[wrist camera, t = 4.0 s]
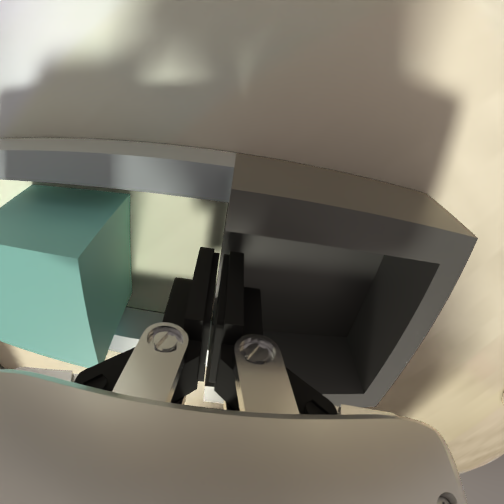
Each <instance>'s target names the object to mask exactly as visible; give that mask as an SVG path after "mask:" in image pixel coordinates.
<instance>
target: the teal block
mask: <svg viewBox="0 0 504 504" xmlns="http://www.w3.org/2000/svg"><path fill="white" fill-rule="evenodd" d="M131 294H132V277H131V252H130V194H126V193H116V192H107V191H97V190H87V189H77V188H66V187H55V186H43V185H31V186H30V187H28V188H27V189H26V190H24V191H23V192H21V193H20V194H18V195H17V196H16V197H14V198H13V199H12V200H10V201H9V202H7V203H6V204H5V205H3V206H2V207H1V208H0V341H1V342H4V343H7V344H10V345H13V346H16V347H19V348H21V349H24V350H27V351H31V352H34V353H37V354H40V355H43V356H47V357H50V358H53V359H57V360H60V361H64V362H67V363H71V364H75V365H79V366H83V367H86V368H90V367H92V366H94V365H96V364H99V363H101V362H103V361H104V360H105V357H106V355H107V352H108V350H109V347H110V344H111V342H112V339H113V337H114V334H115V332H116V329H117V327H118V325H119V322H120V320H121V317H122V315H123V313H124V310H125V308H126V306H127V303H128V301H129V299H130V296H131Z"/></svg>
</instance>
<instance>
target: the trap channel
mask: <svg viewBox="0 0 504 504" xmlns="http://www.w3.org/2000/svg"><path fill="white" fill-rule="evenodd" d="M0 179H3V180H20V181H34V182H48V183H60V184H72V185H83V186H94V187H104V188H114V189H123V190H132V191H141V192H150V193H159V194H167V195H175V196H183V197H191V198H198V199H206V200H213V201H220V202H227V203H228V208H227V215H226V222H225V229H224V236H223V243H222V250H221V257H220V264H219V271H218V279H217V286H216V294H215V301H214V309H213V317H212V320H211V324H210V332H209V340H208V349H207V357H206V366H205V367H207V369H206V379H205V389H204V399H203V401H206V402H214V403H223V399H222V398H221V397H220V396H219V395H218V394H217V393H216V392H215V391H214V383H211V382H209V373H210V363H211V352H212V342H213V332H214V322H215V313H216V305H217V298H218V291H219V284H220V277H221V270H222V263H223V256H224V254H228V255H229V253H230V251H234V252H241V253H244V287H250V288H258V289H260V292H261V307H262V323H263V336H266V337H268V338H270V339H272V340H273V341H274V342H275V343H276V344H277V345H278V347H279V349H280V351H281V355H282V358H283V361H284V364H285V367H286V368H288V369H289V370H290V371H292V372H293V373H294V374H296V375H297V376H298V377H299V378H301V379H302V380H303V381H305V382H306V383H307V384H309V385H310V386H311V387H313V388H314V389H315V390H317V391H318V392H319V393H321V394H322V395H323V396H325V397H326V398H328V399H329V400H330V401H331V402H332V403H333V404H334V406H338V407H340V405H341V404H344V405H349V406H355V407H361V408H365V407H376V406H377V404H378V403H379V402H380V401H381V399H382V398H383V397H384V395H385V394H386V393H387V391H388V390H389V389H390V387H391V386H392V385H393V383H394V382H395V381H396V379H397V378H398V377H399V375H400V374H401V372H402V371H403V369H404V368H405V367H406V365H407V364H408V362H409V361H410V359H411V358H412V356H413V355H414V353H415V352H416V350H417V349H418V347H419V346H420V344H421V343H422V341H423V340H424V338H425V336H426V335H427V333H428V332H429V330H430V328H431V327H432V325H433V323H434V322H435V320H436V318H437V317H438V315H439V313H440V312H441V310H442V308H443V306H444V305H445V303H446V301H447V299H448V298H449V296H450V294H451V292H452V290H453V288H454V286H455V285H456V283H457V281H458V279H459V277H460V275H461V273H462V271H463V269H464V267H465V265H466V263H467V261H468V259H469V257H470V254H471V252H472V250H473V248H474V246H475V244H476V241H477V239H478V238H477V237H476V236H475V235H474V234H473V233H472V232H471V231H470V230H469V229H467V228H466V227H465V226H464V225H463V224H462V223H461V222H460V221H458V220H457V219H456V218H455V217H454V216H453V215H452V214H450V213H449V212H448V211H447V210H446V209H445V208H443V207H442V206H441V205H440V204H439V203H437V202H436V201H435V200H434V199H433V198H431V197H430V196H429V195H428V194H426V193H422V192H419V191H415V190H412V189H408V188H404V187H401V186H397V185H393V184H389V183H385V182H381V181H377V180H373V179H369V178H365V177H361V176H357V175H352V174H348V173H343V172H339V171H334V170H330V169H325V168H320V167H315V166H310V165H305V164H300V163H295V162H289V161H284V160H278V159H272V158H266V157H260V156H254V155H248V154H241V153H235V152H228V151H221V150H213V149H205V148H197V147H189V146H180V145H170V144H160V143H149V142H137V141H123V140H106V139H84V138H0ZM164 314H165V313H159V312H152V311H146V310H140V309H135V308H129V307H126V308H125V310H124V313H123V315H122V317H121V320H120V322H119V325H118V327H117V329H116V332H115V334H114V337H113V339H112V342H111V344H110V347H109V350H111V351H116V352H121V353H123V352H125V351H128V350H130V349H132V348H134V347H136V345H137V343H138V341H139V340H140V338H141V336H142V334H143V332H144V331H145V330H146V329H147V328H148V327H149V326H151V325H153V324H156V323H162V321H163V317H164Z"/></svg>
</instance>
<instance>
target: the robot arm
mask: <svg viewBox="0 0 504 504" xmlns="http://www.w3.org/2000/svg"><path fill="white" fill-rule="evenodd" d="M218 260H219V253H214V249H212V248H205V247H200V250H199V254H198V259H197V263H196V267H195V271H194V276H193V280H191V279H184V278H177V277H176V278H175V280H174V283H173V286H172V290H171V293H170V297H169V300H168V303H167V307H166V310H165V314H164V317H163V321H162V323H156V324H153V325H151V326H149V327H148V328H147V329H146V330H145V331H144V332H143V334H142V336H141V338H140V340H139V341H138V343H137V345H136V347H134V348H132V349H130V350H128V351H125V352H123V353H121V354H119V355H117V356H114V357H112V358H110V359H108V360H105V361H103V362H101V363H99V364H96V365H94V366H92V367H90V368H87V369H85V370H84V371H82V372H80V373H79V374H73V372H72V371H67V370H52V369H39V368H29V367H19V368H16V369H0V504H468V503H467V500H466V495H465V492H464V488H463V485H462V482H461V478H460V476H459V472H458V470H457V467H456V464H455V461H454V459H453V456H452V454H451V452H450V450H449V448H448V446H447V444H446V442H445V440H444V439H443V437H442V436H441V434H440V433H439V432H438V431H437V430H436V429H435V428H433V427H432V426H430V425H428V424H426V423H424V422H421V421H418V420H415V419H411V418H408V417H401V416H397V415H396V414H394V413H391V412H386V411H379V410H373V409H367V408H361V407H355V406H349V405H344V404H341V405H340V407H338V406H334V404H333V403H332V402H331V401H330V400H329V399H328V398H326V397H325V396H323V395H322V394H321V393H319V392H318V391H317V390H315V389H314V388H313V387H311V386H310V385H309V384H307V383H306V382H305V381H303V380H302V379H301V378H299V377H298V376H297V375H296V374H294V373H293V372H292V371H290V370H289V369H288V368H286V367H285V364H284V361H283V358H282V355H281V351H280V349H279V347H278V345H277V344H276V343H275V342H274V341H273V340H272V339H270V338H268V337H266V336H263V323H262V307H261V292H260V289H258V288H250V287H244V253H241V252H234V251H230V253H229V255H228V254H224V256H223V263H222V270H221V277H220V284H219V291H218V298H217V305H216V313H215V322H214V332H213V342H212V352H211V363H210V373H209V382H211V383H214V391H215V392H216V393H217V394H218V395H219V396H220V397H221V398H222V399H223V408H224V410H222V409H213V408H205V407H197V406H189V405H184V404H185V400H186V395H187V394H189V393H191V392H193V391H194V390H196V389H197V384H198V381H203V382H204V375H205V366H206V357H207V349H208V340H209V332H210V324H211V316H212V307H213V299H214V291H215V283H216V275H217V267H218ZM502 403H503V405H504V393H503V396H502Z"/></svg>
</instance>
